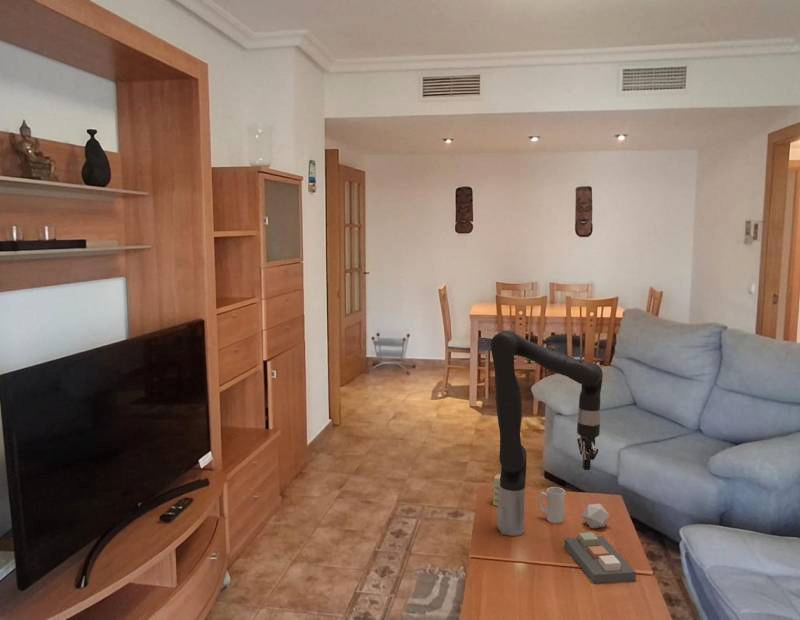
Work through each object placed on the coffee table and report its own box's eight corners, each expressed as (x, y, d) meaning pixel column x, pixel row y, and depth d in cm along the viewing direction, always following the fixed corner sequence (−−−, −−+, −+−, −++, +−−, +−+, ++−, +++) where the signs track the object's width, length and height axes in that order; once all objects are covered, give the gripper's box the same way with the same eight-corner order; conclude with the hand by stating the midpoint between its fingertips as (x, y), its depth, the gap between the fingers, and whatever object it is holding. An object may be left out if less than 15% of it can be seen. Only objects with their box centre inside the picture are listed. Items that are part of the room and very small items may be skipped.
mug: (563, 516, 239) (564, 487, 238) (565, 524, 233) (566, 494, 232) (537, 515, 241) (537, 485, 240) (538, 522, 234) (538, 492, 233)
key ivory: (605, 575, 194) (605, 563, 194) (598, 567, 199) (598, 555, 198) (620, 574, 195) (620, 562, 194) (612, 566, 200) (613, 555, 199)
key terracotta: (594, 565, 202) (594, 554, 202) (587, 557, 207) (588, 546, 206) (608, 564, 203) (609, 553, 202) (601, 557, 208) (602, 545, 207)
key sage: (584, 550, 210) (584, 539, 209) (578, 543, 215) (578, 533, 214) (598, 550, 210) (598, 539, 210) (591, 543, 215) (592, 532, 215)
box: (521, 504, 251) (521, 477, 249) (517, 510, 245) (518, 482, 244) (496, 500, 255) (497, 473, 254) (492, 505, 250) (493, 477, 249)
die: (607, 535, 226) (616, 509, 229) (586, 523, 226) (595, 498, 229) (595, 533, 234) (605, 508, 237) (575, 521, 234) (585, 497, 237)
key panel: (593, 583, 192) (593, 574, 192) (564, 546, 216) (564, 538, 215) (635, 580, 194) (636, 571, 193) (601, 544, 217) (602, 536, 217)
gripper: (570, 416, 217) (568, 462, 219) (586, 427, 204) (583, 477, 206) (591, 415, 218) (588, 462, 220) (607, 426, 205) (604, 476, 207)
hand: (586, 469), depth 213 cm, fingers closed
